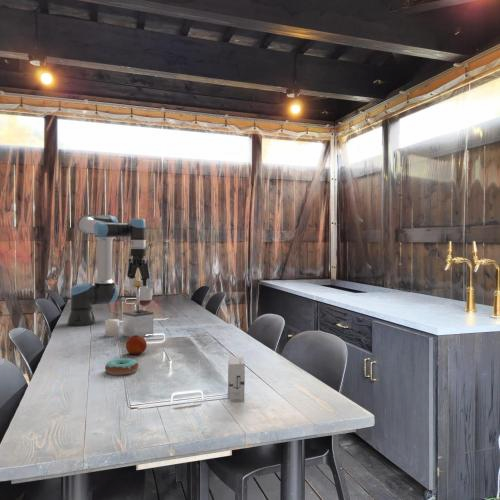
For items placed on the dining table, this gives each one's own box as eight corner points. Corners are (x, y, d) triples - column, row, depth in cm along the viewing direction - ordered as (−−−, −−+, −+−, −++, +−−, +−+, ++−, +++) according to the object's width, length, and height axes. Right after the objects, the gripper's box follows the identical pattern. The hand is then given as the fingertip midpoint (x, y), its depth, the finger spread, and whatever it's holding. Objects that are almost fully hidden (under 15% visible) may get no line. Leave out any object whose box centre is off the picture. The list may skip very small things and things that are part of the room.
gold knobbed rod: (128, 316, 221) (128, 280, 221) (140, 314, 227) (140, 279, 226) (136, 318, 217) (136, 281, 216) (148, 316, 222) (148, 280, 222)
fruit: (128, 357, 179) (128, 338, 179) (124, 352, 187) (124, 334, 187) (149, 354, 184) (149, 336, 183) (144, 350, 191) (144, 332, 191)
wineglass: (148, 329, 236) (148, 290, 235) (132, 329, 238) (132, 289, 237) (155, 326, 244) (155, 288, 244) (139, 326, 246) (139, 288, 246)
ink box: (227, 392, 138) (227, 356, 138) (243, 392, 138) (243, 356, 138) (228, 402, 129) (228, 363, 129) (245, 402, 130) (245, 363, 130)
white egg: (102, 335, 222) (102, 320, 222) (114, 333, 227) (114, 318, 227) (109, 337, 217) (109, 321, 217) (122, 335, 222) (122, 319, 222)
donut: (111, 367, 166) (111, 356, 166) (142, 367, 166) (142, 357, 166) (99, 376, 154) (99, 365, 154) (132, 377, 154) (132, 366, 154)
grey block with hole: (123, 335, 221) (123, 312, 221) (141, 332, 230) (141, 309, 229) (134, 338, 214) (134, 314, 214) (153, 335, 222) (153, 312, 222)
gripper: (120, 248, 226) (120, 290, 226) (144, 248, 211) (144, 294, 211) (132, 248, 231) (132, 289, 232) (156, 248, 216) (156, 292, 217)
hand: (138, 291), depth 221 cm, fingers open, 9 cm apart
